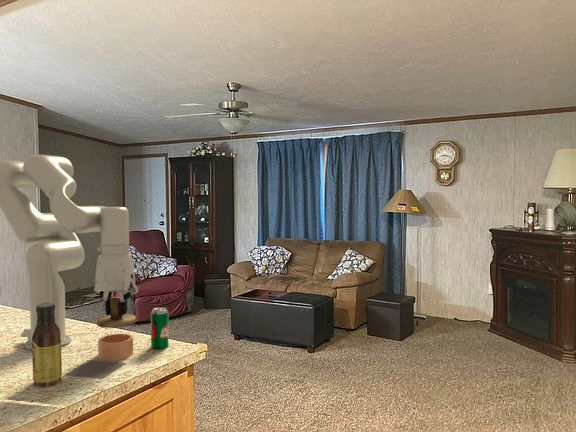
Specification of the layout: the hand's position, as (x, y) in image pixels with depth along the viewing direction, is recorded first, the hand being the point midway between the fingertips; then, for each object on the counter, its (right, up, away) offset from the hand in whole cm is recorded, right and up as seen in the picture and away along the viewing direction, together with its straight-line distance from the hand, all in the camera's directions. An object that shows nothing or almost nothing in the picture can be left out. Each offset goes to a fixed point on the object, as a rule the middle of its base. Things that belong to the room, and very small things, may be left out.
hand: (116, 313), depth 133 cm
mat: (-2, -13, -10) cm, 16 cm away
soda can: (+10, -12, +8) cm, 18 cm away
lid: (0, -3, 0) cm, 3 cm away
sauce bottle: (-10, -13, -19) cm, 25 cm away
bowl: (0, -12, +1) cm, 12 cm away
